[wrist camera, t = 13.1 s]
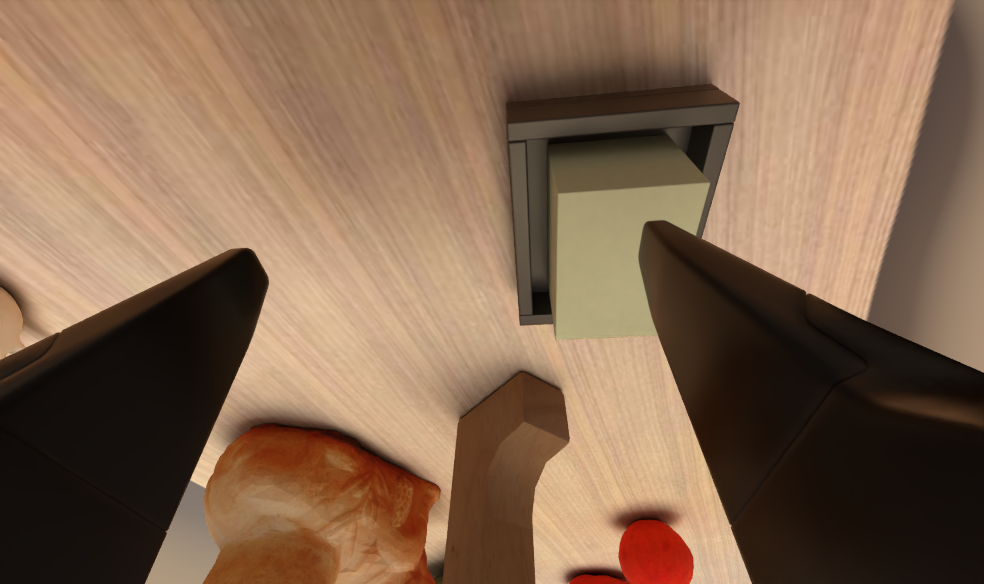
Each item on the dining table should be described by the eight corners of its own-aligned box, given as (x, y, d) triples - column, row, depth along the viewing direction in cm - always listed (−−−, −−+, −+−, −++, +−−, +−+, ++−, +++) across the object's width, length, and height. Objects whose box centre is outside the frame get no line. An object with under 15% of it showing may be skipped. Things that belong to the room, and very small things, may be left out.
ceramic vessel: (400, 530, 52) (371, 693, 41) (203, 444, 39) (79, 649, 28) (483, 504, 47) (477, 685, 35) (286, 394, 33) (173, 625, 22)
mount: (505, 102, 18) (506, 122, 16) (712, 83, 18) (741, 102, 16) (518, 294, 26) (519, 326, 24) (664, 286, 25) (679, 318, 23)
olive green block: (546, 144, 19) (557, 193, 15) (668, 134, 18) (711, 182, 15) (547, 278, 24) (555, 340, 20) (642, 273, 24) (669, 335, 20)
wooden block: (521, 368, 31) (536, 709, 17) (565, 390, 32) (610, 717, 19) (456, 420, 35) (426, 718, 22) (497, 437, 37) (493, 724, 23)
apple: (669, 502, 45) (693, 581, 40) (688, 526, 49) (712, 601, 44) (602, 516, 48) (615, 592, 42) (625, 538, 52) (640, 609, 47)
